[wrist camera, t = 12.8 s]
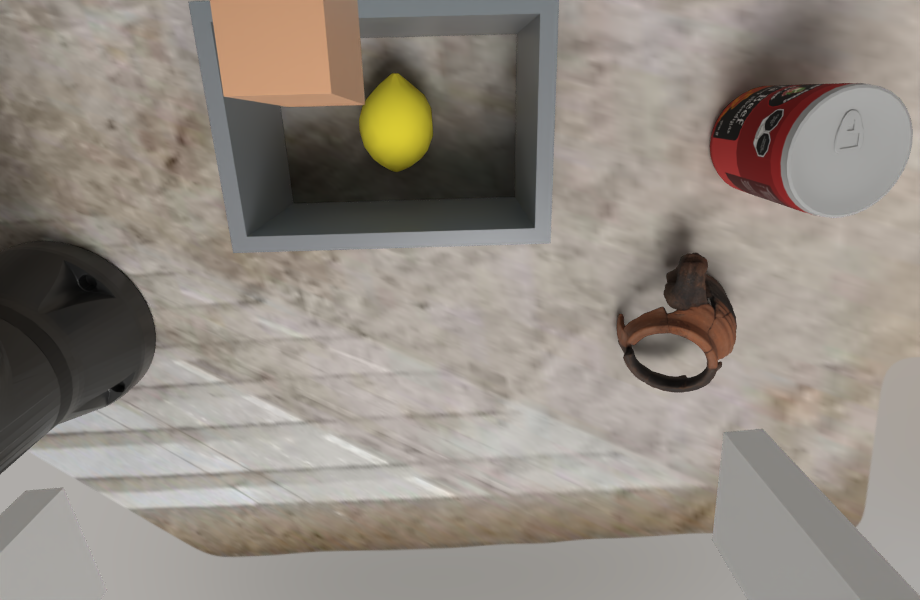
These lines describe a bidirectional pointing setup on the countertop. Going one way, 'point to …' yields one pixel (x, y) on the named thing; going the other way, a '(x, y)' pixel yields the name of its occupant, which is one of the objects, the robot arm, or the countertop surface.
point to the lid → (290, 51)
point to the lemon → (396, 123)
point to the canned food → (814, 145)
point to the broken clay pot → (685, 324)
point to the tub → (402, 221)
